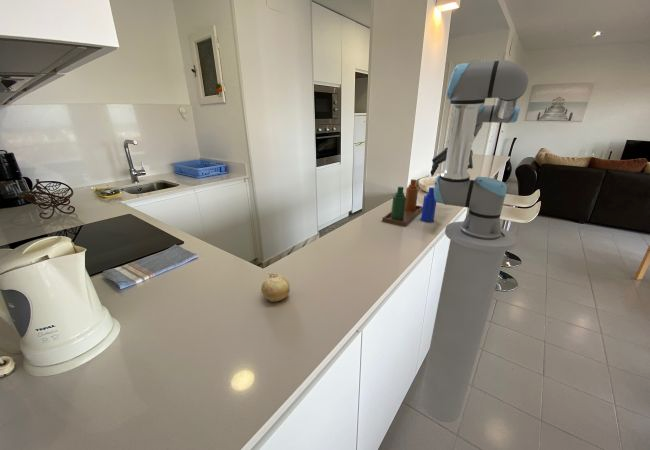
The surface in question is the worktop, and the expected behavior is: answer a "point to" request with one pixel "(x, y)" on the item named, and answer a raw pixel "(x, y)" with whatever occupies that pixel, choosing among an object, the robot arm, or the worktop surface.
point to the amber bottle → (411, 196)
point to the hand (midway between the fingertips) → (444, 176)
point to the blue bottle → (429, 206)
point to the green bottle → (398, 205)
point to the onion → (275, 288)
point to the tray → (407, 217)
